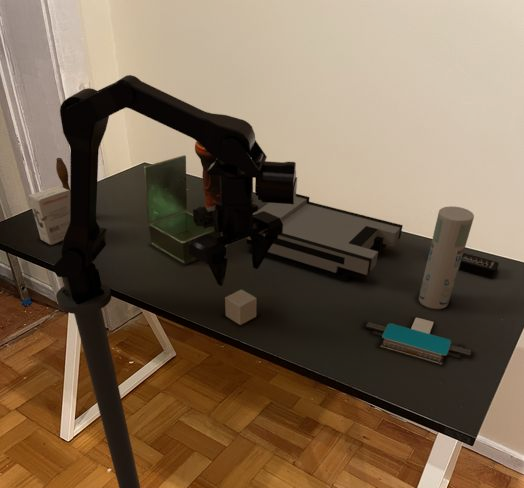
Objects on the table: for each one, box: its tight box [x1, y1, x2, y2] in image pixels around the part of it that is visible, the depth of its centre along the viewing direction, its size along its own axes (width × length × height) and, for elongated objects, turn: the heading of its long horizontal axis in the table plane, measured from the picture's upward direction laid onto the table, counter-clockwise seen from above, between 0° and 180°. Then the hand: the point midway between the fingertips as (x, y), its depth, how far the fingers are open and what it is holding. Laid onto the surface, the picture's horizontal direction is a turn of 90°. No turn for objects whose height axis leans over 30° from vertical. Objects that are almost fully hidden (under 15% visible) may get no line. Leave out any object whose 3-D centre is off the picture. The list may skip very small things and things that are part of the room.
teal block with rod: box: [365, 317, 472, 366], centre depth 101 cm, size 20×12×2 cm, turn 64°
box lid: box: [143, 154, 188, 224], centre depth 125 cm, size 14×11×5 cm
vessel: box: [194, 140, 221, 209], centre depth 137 cm, size 14×14×20 cm
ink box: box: [28, 185, 70, 246], centre depth 128 cm, size 9×5×12 cm, turn 139°
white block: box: [224, 289, 258, 326], centre depth 105 cm, size 4×4×4 cm
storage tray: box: [148, 210, 222, 266], centre depth 127 cm, size 13×11×6 cm
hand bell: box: [55, 157, 70, 190], centre depth 136 cm, size 8×8×16 cm
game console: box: [245, 193, 403, 282], centre depth 125 cm, size 21×32×8 cm, turn 59°
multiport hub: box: [458, 252, 500, 280], centre depth 123 cm, size 4×14×2 cm, turn 57°
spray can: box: [418, 206, 475, 310], centre depth 105 cm, size 6×6×20 cm
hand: (238, 276), depth 101 cm, fingers open, 9 cm apart
